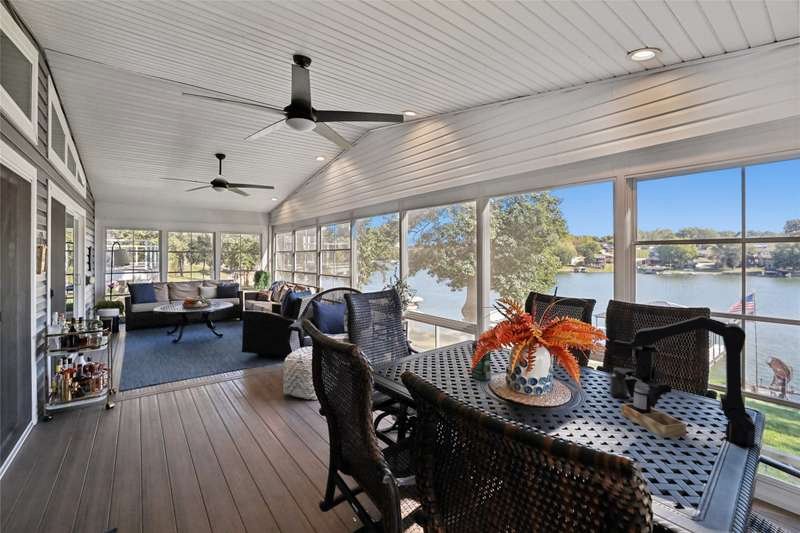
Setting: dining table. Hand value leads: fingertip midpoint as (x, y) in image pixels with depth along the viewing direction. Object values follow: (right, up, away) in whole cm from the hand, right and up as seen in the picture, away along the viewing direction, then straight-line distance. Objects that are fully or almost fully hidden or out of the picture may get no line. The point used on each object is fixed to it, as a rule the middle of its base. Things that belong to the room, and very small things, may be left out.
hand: (642, 402), depth 140 cm
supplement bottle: (+4, -6, +22) cm, 23 cm away
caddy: (+1, -7, -4) cm, 8 cm away
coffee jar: (-52, -4, +44) cm, 68 cm away
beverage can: (0, -7, 0) cm, 7 cm away
